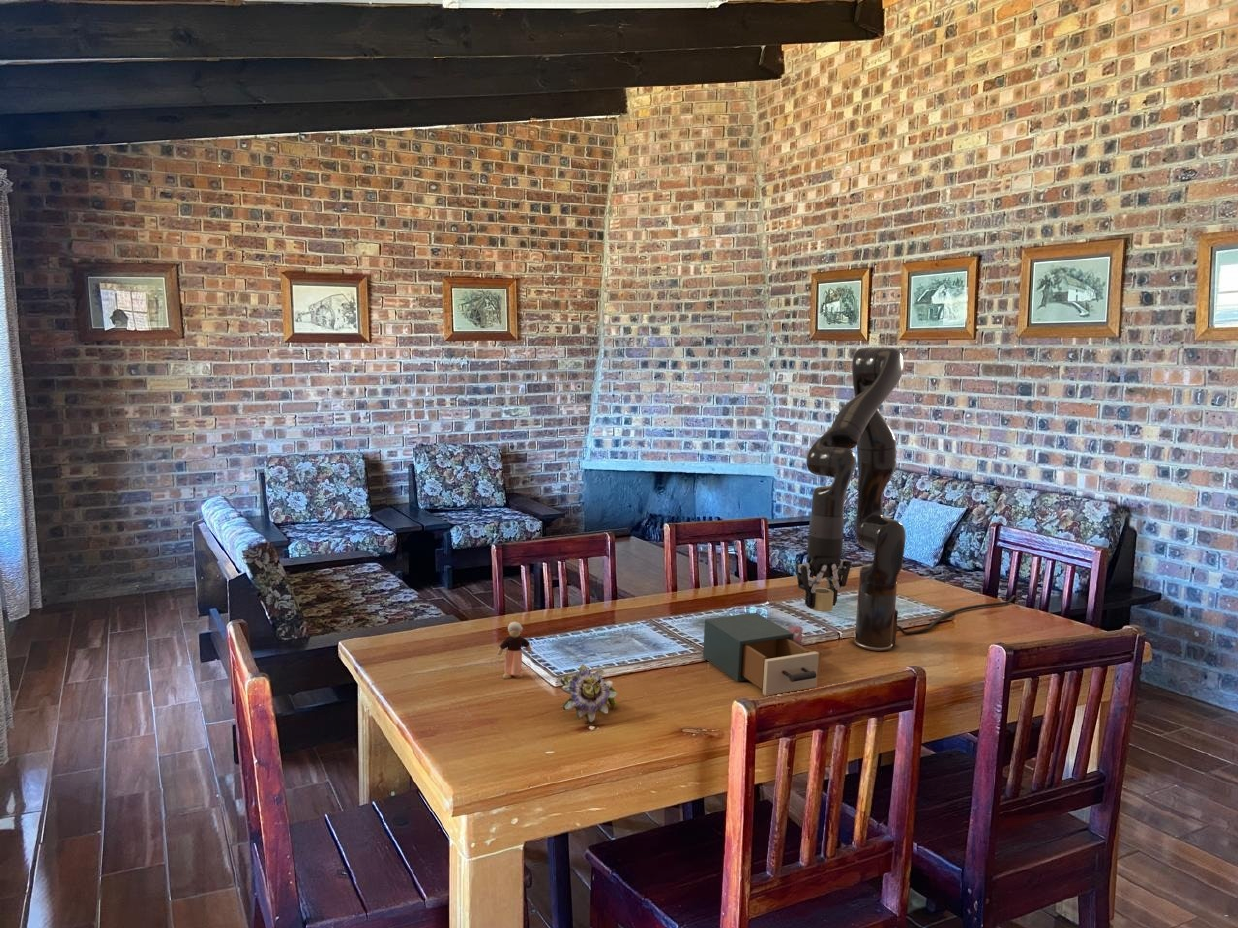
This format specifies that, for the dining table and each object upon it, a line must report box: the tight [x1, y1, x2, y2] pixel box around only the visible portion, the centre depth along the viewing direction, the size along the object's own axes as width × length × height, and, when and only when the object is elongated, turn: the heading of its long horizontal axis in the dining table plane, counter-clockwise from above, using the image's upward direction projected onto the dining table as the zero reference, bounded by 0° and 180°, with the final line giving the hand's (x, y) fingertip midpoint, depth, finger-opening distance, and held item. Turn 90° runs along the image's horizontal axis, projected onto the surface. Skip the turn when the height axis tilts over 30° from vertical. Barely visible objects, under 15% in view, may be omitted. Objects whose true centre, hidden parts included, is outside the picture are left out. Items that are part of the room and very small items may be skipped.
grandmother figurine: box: [496, 620, 533, 680], centre depth 196 cm, size 8×4×13 cm, turn 117°
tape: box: [811, 587, 834, 613], centre depth 199 cm, size 5×5×4 cm
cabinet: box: [702, 612, 794, 683], centre depth 206 cm, size 16×15×10 cm
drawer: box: [741, 638, 820, 697], centre depth 195 cm, size 19×13×8 cm
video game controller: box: [787, 624, 804, 647], centre depth 218 cm, size 10×5×7 cm, turn 168°
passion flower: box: [559, 663, 618, 723], centre depth 179 cm, size 11×11×12 cm
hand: (820, 605), depth 199 cm, fingers closed on tape, 5 cm apart
